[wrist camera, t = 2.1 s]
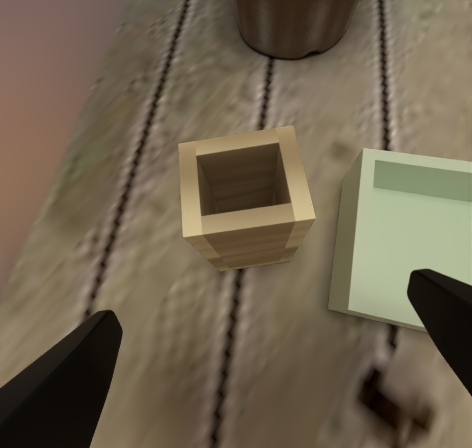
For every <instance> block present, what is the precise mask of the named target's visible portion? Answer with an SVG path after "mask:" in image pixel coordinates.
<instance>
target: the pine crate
mask: <svg viewBox="0 0 472 448" xmlns="http://www.w3.org/2000/svg"><path fill="white" fill-rule="evenodd" d="M178 147H179V167H180V186H181V206H182V225H183V238H184V239H186V240H187V241H188V242H189V243H190V244H191V245H192V246H193V247H194V248H195V249H197V250H198V251H199V252H200V253H201V254H202V255H203V256H204V257H205V258H207V259H208V260H209V261H210V262H211V263H212V264H213V265H214V266H215V267H216V268H218V269H219V270H220V271H226V270H234V269H241V268H248V267H256V266H263V265H271V264H278V263H285V262H289V261H290V260H291V258H292V256H293V255H294V253H295V251H296V250H297V248H298V246H299V245H300V243H301V242H302V240H303V238H304V237H305V235H306V233H307V232H308V230H309V228H310V227H311V225H312V224H313V222H314V220H315V219H316V217H315V213H314V209H313V205H312V201H311V197H310V193H309V188H308V184H307V180H306V176H305V172H304V168H303V163H302V159H301V155H300V151H299V147H298V143H297V139H296V134H295V130H294V126H293V125H291V126H285V127H278V128H272V129H266V130H260V131H254V132H248V133H242V134H236V135H230V136H223V137H217V138H211V139H205V140H199V141H193V142H187V143H181V144H178Z"/></svg>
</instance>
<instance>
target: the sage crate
mask: <svg viewBox="0 0 472 448" xmlns="http://www.w3.org/2000/svg"><path fill="white" fill-rule="evenodd" d="M425 268H428V269H431V270H434V271H436V272H439V273H441V274H444V275H446V276H449V277H452V278H454V279H457V280H459V281H462V282H464V283H467V284H469V285H472V162H467V161H460V160H452V159H444V158H437V157H429V156H421V155H414V154H406V153H398V152H391V151H383V150H375V149H367V148H363V149H362V151H361V152H360V154H359V156H358V157H357V159H356V160H355V162H354V163H353V165H352V166H351V168H350V170H349V171H348V173H347V174H346V176H345V177H344V179H343V182H342V191H341V199H340V208H339V217H338V225H337V234H336V242H335V251H334V259H333V268H332V277H331V285H330V294H329V302H328V309H329V310H333V311H337V312H341V313H346V314H350V315H354V316H359V317H363V318H367V319H371V320H376V321H380V322H384V323H388V324H393V325H397V326H401V327H405V328H410V329H414V330H418V331H422V332H427V330H426V328H425V327H424V325H423V323H422V322H421V320H420V318H419V317H418V315H417V313H416V311H415V310H414V308H413V306H412V305H411V303H410V301H409V299H408V297H407V288H408V283H409V278H410V273H411V272H412V271H413V270H417V269H425ZM427 333H428V332H427Z"/></svg>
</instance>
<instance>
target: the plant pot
mask: <svg viewBox="0 0 472 448" xmlns="http://www.w3.org/2000/svg"><path fill="white" fill-rule="evenodd" d="M358 1H359V0H234V2H235V8H236V15H237V22H238V26H239V29H240V31H241V34H242V36H243V39H244V40H245V41H246V42H247V43H248V44H249V45H250V46H251V47H253V48H254V49H256V50H258V51H260V52H261V53H264V54H266V55H270V56H274V57H278V58H287V59H296V58H302V57H304V56H305V55H306V54H308V53H310V52H313V51H318V52H323V51H325V50H327V49H329V48H330V47H332V46H333V45H334V44H336V43H337V42H338V41H339V40H340V38H341V37H342V36H343V35H344V33H345V32H346V30H347V28H348V26H349V23H350V21H351V18H352V16H353V13H354V11H355V8H356V6H357V3H358Z"/></svg>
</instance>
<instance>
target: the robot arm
mask: <svg viewBox="0 0 472 448" xmlns="http://www.w3.org/2000/svg"><path fill="white" fill-rule="evenodd" d="M407 297H408V299H409V301H410V303H411V305H412V306H413V308H414V310H415V311H416V313H417V315H418V317H419V318H420V320H421V322H422V323H423V325H424V327H425V328H426V330H427V332H428V334H429V335H430V337H431V339H432V340H433V342H434V344H435V345H436V347H437V348H438V350H439V351H440V353H441V354H442V356H443V357H444V359H445V360H446V361H447V363H448V364H449V366H450V367H451V368H452V370H453V371H454V372H455V374H456V375H457V377H458V378H459V379H460V381H461V382H462V384H463V385H464V386H465V388H466V389H467V390H468V392H469V393H470V395H471V396H472V285H469V284H467V283H464V282H462V281H459V280H457V279H454V278H452V277H449V276H446V275H444V274H441V273H439V272H436V271H434V270H431V269H428V268H425V269H417V270H413V271H412V272H411V273H410V278H409V283H408V288H407ZM122 334H123V331H122V327H121V325H120V323H119V321H118V319H117V317H116V315H115V313H114V312H113V311H112V310H104V311H98V312H96V313H95V314H94V315H93V316H91V317H90V318H89V319H87V320H86V321H85V322H84V323H82V324H81V325H80V326H79V327H77V328H76V329H75V330H73V331H72V332H71V333H70V334H68V335H67V336H66V337H65V338H63V339H62V340H61V341H60V342H58V343H57V344H56V345H54V346H53V347H52V348H51V349H49V350H48V351H47V352H46V353H44V354H43V355H42V356H41V357H39V358H38V359H37V360H35V361H34V362H33V363H32V364H30V365H29V366H28V367H27V368H25V369H24V370H23V371H21V372H20V373H19V374H18V375H16V376H15V377H14V378H13V379H11V380H10V381H9V382H8V383H6V384H5V385H4V386H2V387H1V388H0V448H89V447H90V444H91V441H92V438H93V436H94V433H95V430H96V427H97V424H98V421H99V418H100V415H101V412H102V409H103V406H104V403H105V400H106V397H107V394H108V391H109V388H110V385H111V381H112V377H113V373H114V369H115V365H116V360H117V356H118V352H119V348H120V344H121V340H122Z"/></svg>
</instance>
